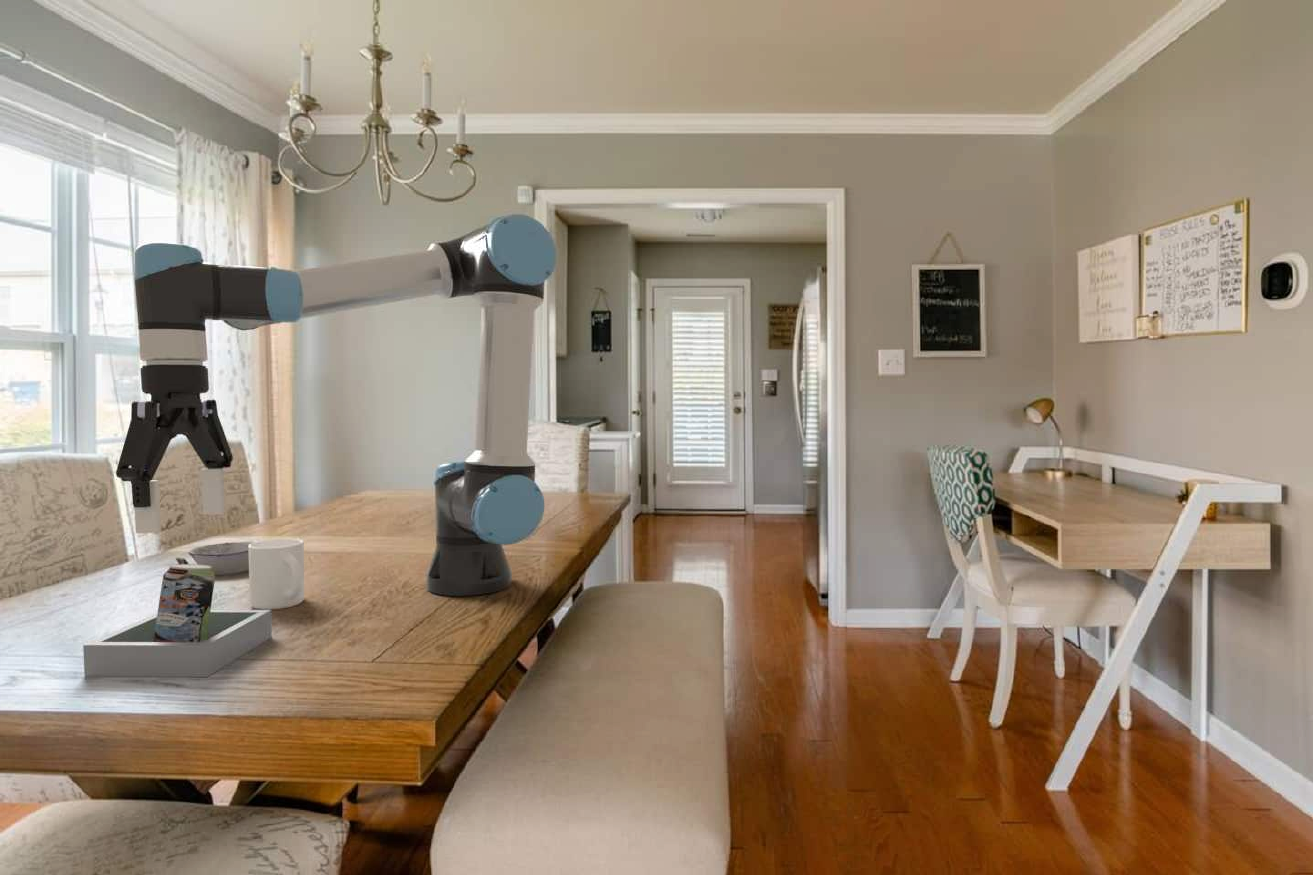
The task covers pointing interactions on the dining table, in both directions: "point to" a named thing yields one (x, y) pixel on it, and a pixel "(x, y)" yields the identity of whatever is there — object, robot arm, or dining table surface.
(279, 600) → the mug
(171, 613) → the beverage can
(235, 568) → the bowl
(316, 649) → the dining table surface
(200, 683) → the dining table surface
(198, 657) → the corral
